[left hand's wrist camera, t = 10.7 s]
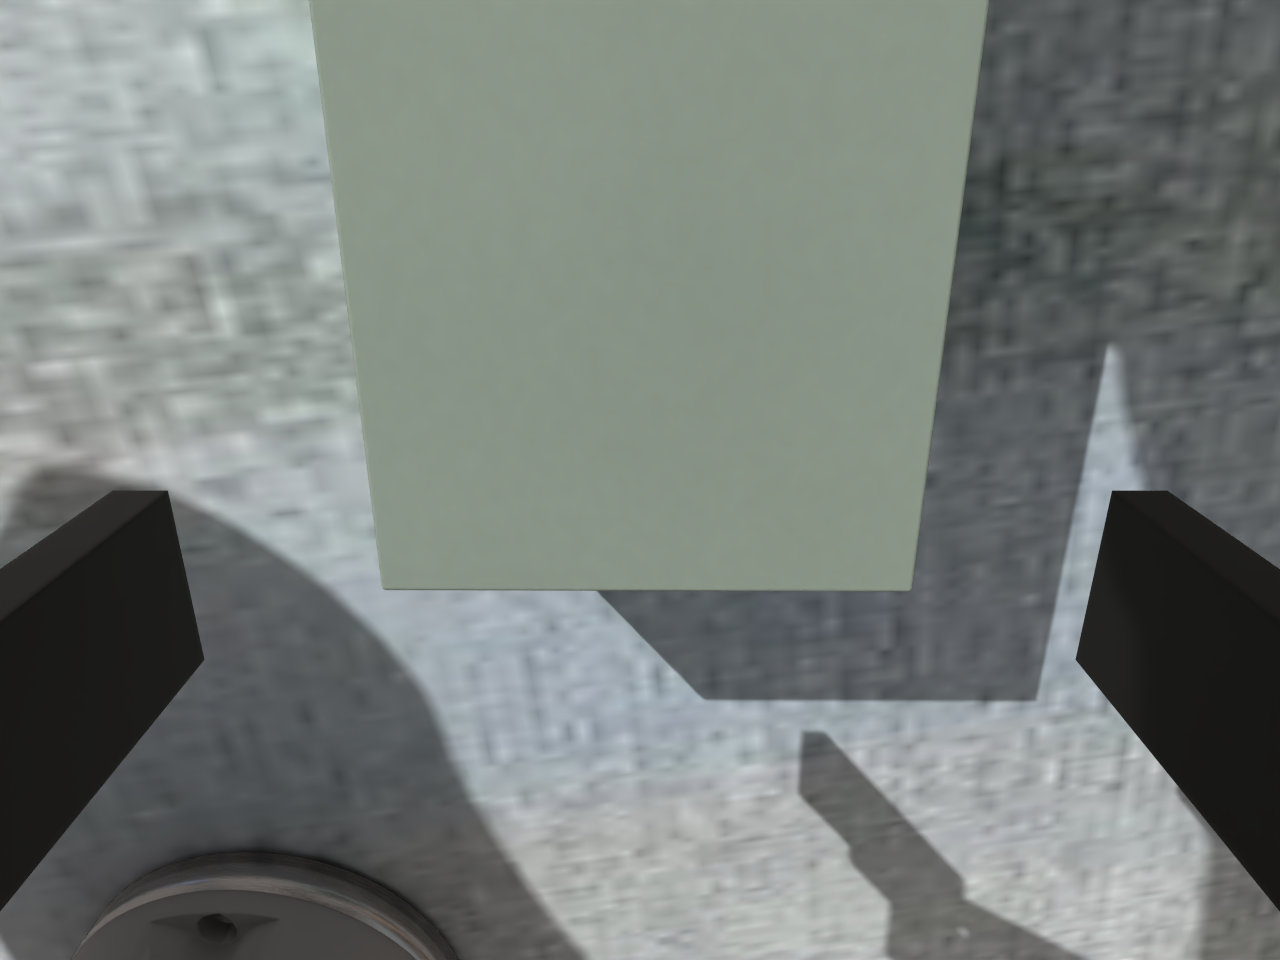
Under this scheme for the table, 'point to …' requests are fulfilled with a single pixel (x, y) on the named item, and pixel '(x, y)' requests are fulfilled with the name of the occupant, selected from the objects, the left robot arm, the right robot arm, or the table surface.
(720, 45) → the grey box
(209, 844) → the table surface
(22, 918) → the table surface
